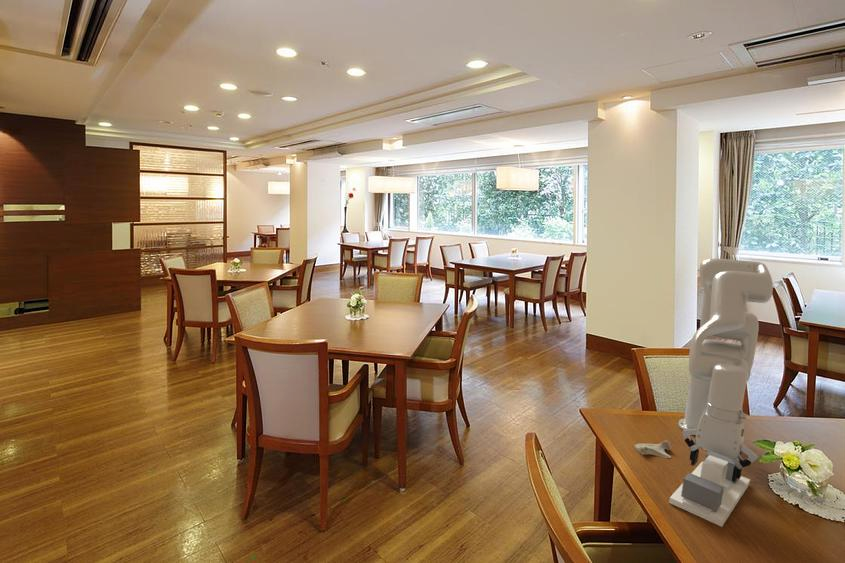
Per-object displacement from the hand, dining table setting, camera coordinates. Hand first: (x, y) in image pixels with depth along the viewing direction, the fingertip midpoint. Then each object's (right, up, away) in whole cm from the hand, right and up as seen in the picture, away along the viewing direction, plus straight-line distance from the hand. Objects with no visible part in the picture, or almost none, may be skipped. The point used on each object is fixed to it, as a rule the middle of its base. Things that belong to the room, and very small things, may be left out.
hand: (713, 471), depth 127 cm
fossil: (-5, -3, +21) cm, 22 cm away
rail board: (0, -6, +1) cm, 6 cm away
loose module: (0, -4, 0) cm, 4 cm away
